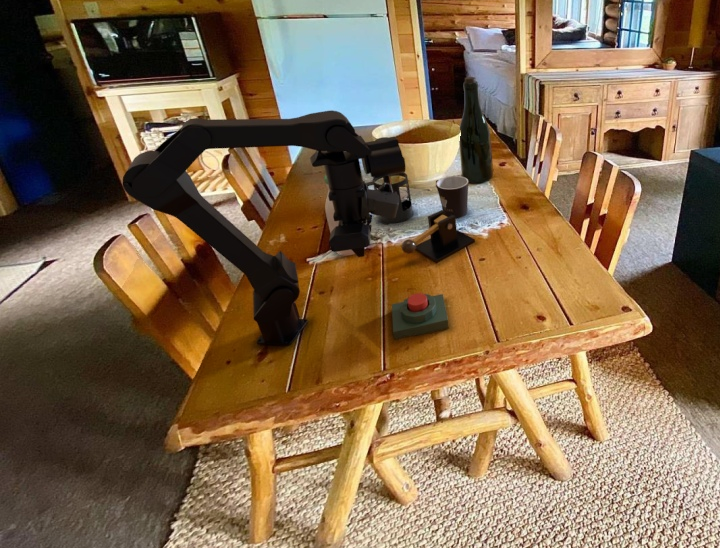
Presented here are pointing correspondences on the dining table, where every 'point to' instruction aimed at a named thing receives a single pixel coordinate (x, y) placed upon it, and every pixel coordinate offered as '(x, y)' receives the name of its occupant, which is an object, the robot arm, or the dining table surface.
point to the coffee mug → (453, 195)
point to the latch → (421, 237)
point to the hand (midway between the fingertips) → (361, 255)
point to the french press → (403, 196)
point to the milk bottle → (332, 224)
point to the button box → (419, 318)
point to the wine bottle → (474, 138)
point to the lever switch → (443, 239)
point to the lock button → (417, 302)
